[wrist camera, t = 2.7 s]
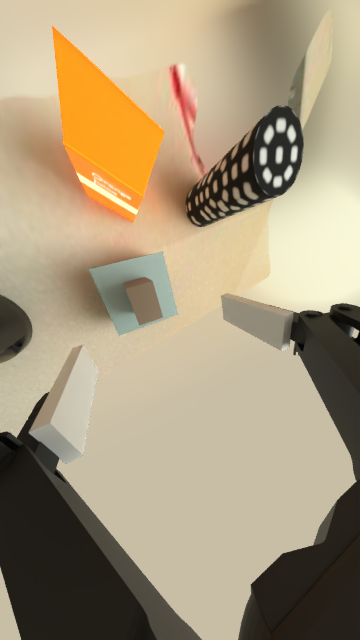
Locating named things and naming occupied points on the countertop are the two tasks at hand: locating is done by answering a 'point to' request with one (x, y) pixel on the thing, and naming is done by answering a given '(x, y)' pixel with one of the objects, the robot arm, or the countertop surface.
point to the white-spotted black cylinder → (250, 169)
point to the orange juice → (104, 132)
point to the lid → (136, 291)
